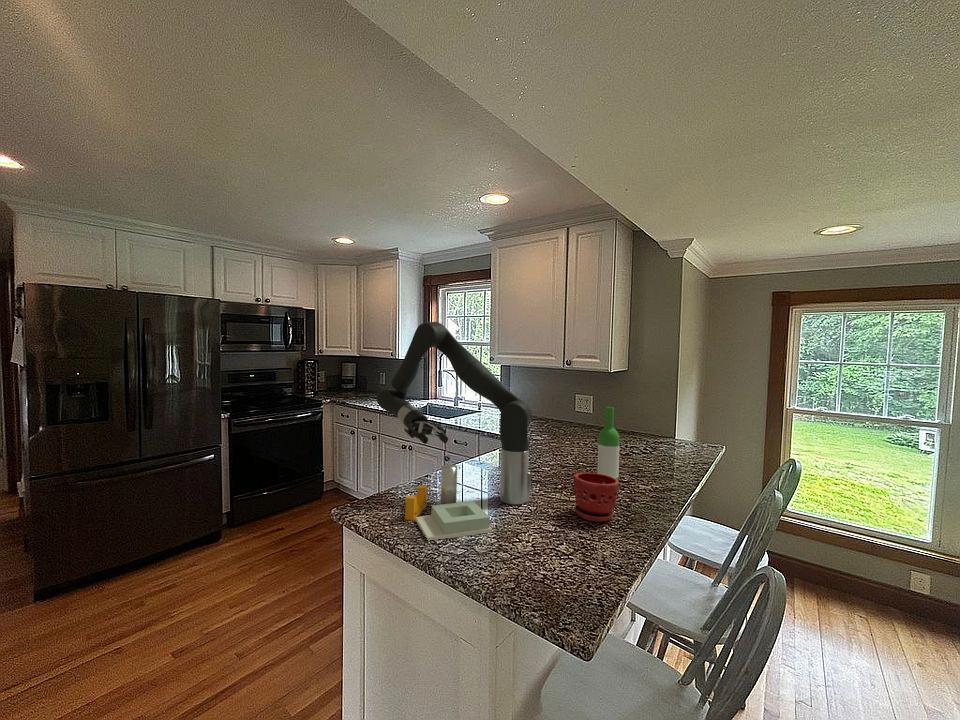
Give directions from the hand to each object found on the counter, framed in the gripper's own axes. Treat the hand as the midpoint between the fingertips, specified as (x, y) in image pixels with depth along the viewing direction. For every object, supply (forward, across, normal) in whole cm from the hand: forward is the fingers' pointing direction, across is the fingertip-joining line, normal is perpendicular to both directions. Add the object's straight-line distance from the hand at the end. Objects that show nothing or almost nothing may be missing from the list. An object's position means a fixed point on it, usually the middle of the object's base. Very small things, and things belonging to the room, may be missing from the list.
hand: (437, 441), depth 135 cm
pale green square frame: (+26, -8, +12) cm, 29 cm away
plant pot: (+46, +30, +1) cm, 55 cm away
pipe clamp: (+11, -10, +18) cm, 23 cm away
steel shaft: (+14, +1, +16) cm, 21 cm away
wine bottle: (+32, +63, +2) cm, 71 cm away
